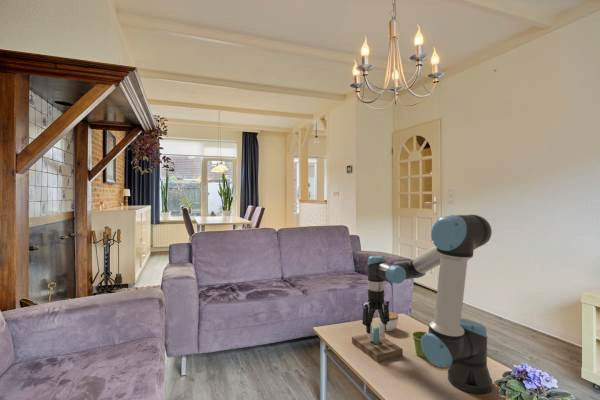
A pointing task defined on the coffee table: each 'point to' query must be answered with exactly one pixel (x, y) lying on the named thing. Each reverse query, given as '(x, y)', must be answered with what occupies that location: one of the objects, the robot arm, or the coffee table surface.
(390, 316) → the lidded jar
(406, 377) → the coffee table surface
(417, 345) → the plant pot
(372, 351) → the hole block
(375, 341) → the peg
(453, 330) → the robot arm
